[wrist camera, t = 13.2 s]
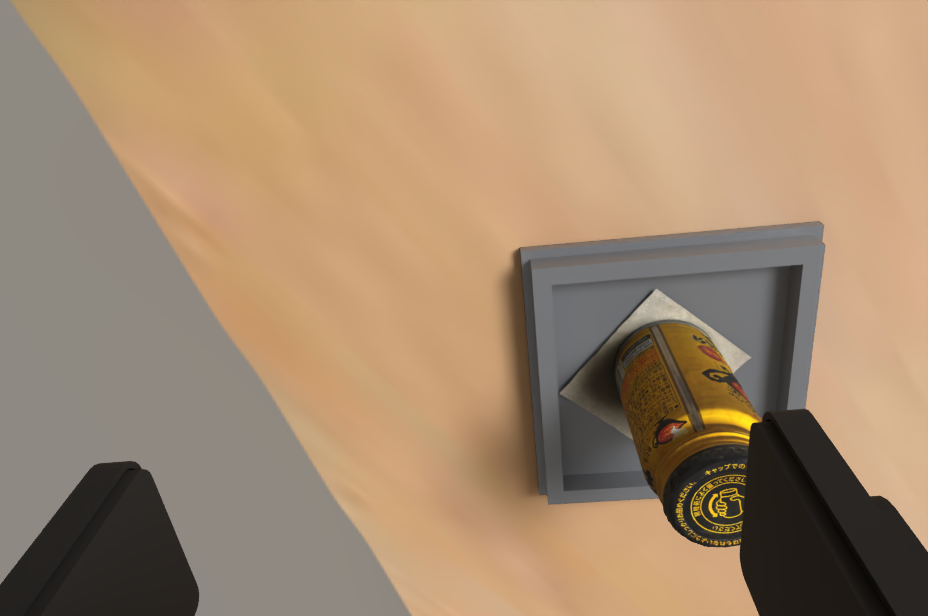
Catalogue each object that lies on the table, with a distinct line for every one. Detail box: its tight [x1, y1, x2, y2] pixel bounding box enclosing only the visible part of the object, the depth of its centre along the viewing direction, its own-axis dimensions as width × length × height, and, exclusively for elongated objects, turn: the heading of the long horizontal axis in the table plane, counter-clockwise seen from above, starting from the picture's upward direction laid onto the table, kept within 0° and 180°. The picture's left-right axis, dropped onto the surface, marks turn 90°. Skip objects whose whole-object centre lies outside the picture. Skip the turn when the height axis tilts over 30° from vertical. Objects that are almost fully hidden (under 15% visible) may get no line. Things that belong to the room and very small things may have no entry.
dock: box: [520, 221, 825, 505], centre depth 40 cm, size 17×16×2 cm
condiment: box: [559, 289, 762, 547], centre depth 35 cm, size 7×8×12 cm
